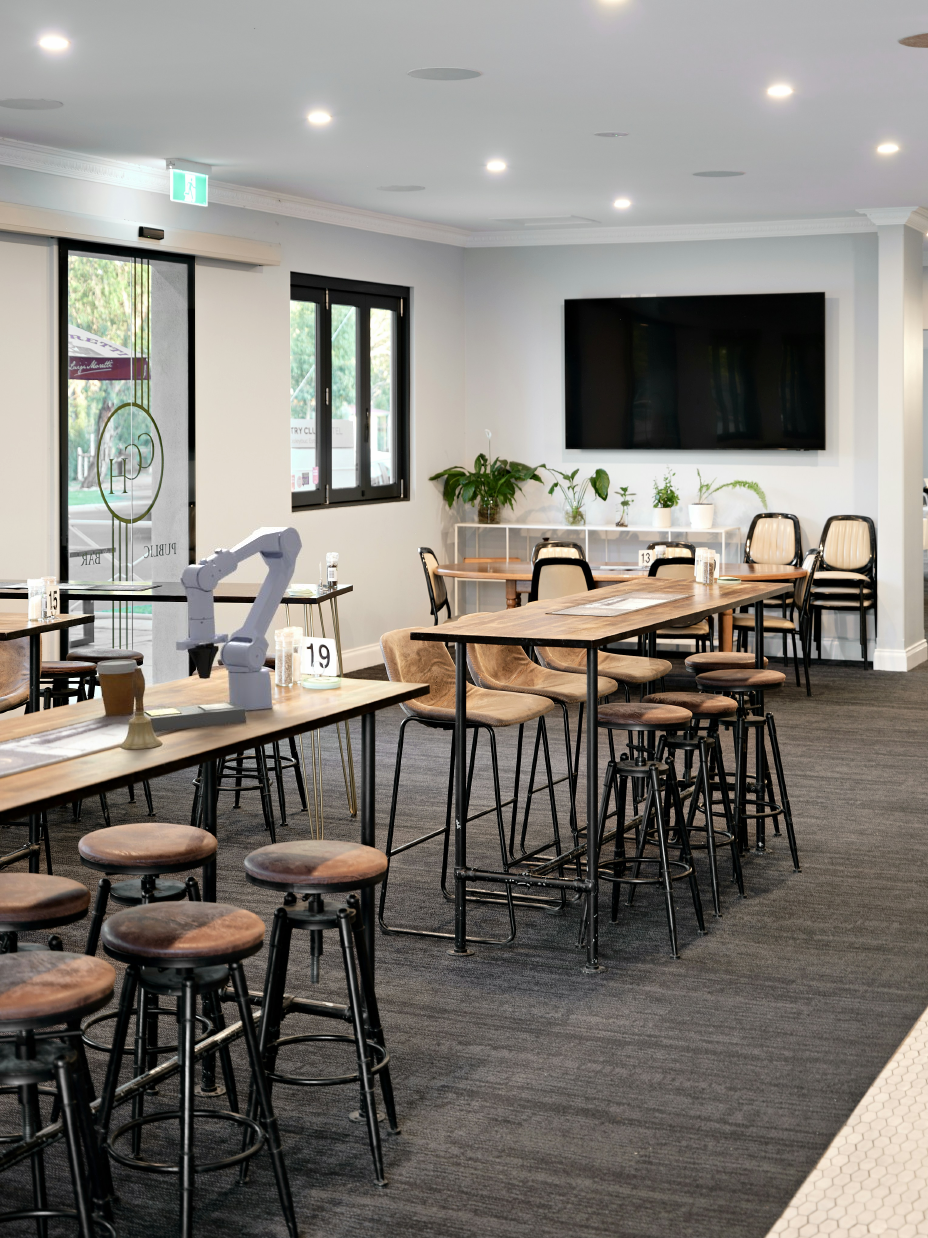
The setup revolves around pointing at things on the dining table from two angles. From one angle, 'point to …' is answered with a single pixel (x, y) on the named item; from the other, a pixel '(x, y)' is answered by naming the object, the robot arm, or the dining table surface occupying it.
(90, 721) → the dining table surface
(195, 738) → the dining table surface
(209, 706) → the white button
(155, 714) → the brass button
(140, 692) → the hand bell
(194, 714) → the panel
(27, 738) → the dining table surface
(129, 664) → the disposable coffee cup
